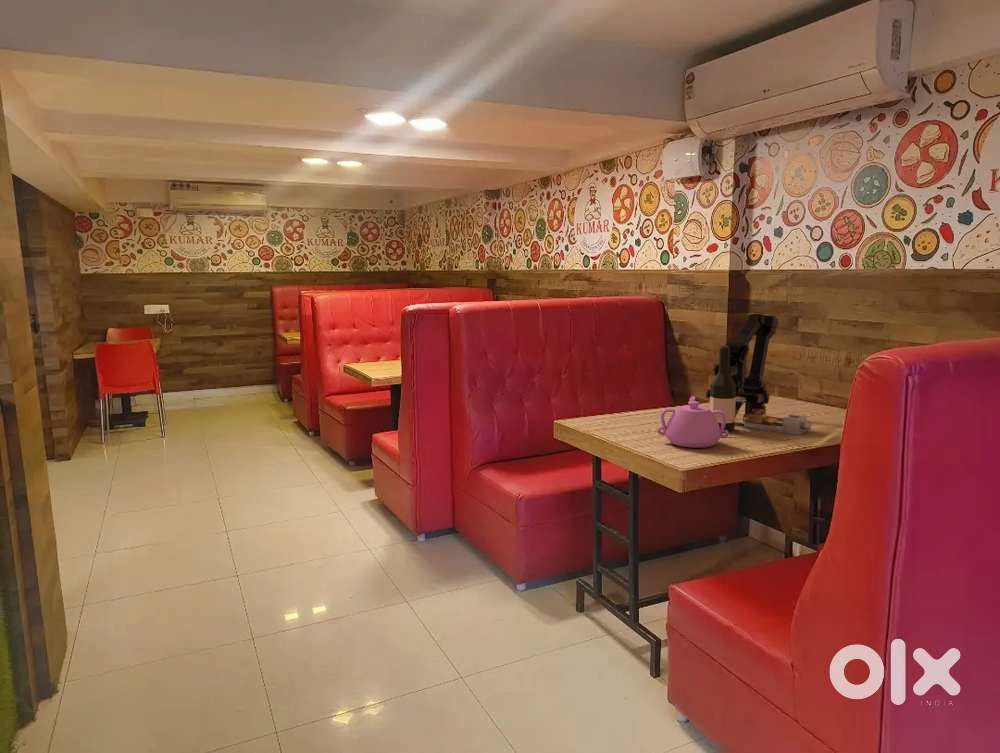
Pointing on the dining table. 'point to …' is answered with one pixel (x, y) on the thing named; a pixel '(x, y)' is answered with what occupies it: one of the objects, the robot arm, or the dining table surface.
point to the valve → (759, 418)
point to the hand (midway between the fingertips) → (733, 419)
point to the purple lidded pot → (693, 426)
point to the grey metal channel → (784, 426)
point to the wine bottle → (724, 391)
